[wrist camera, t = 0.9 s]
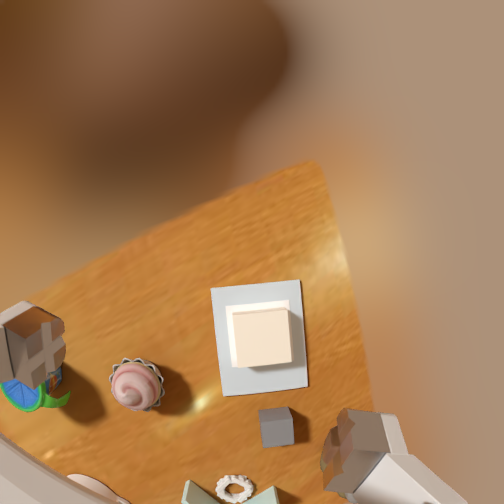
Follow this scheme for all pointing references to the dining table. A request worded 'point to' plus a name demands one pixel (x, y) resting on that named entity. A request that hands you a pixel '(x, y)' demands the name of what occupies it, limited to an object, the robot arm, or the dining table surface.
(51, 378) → the snack cup
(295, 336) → the light grey flat slab
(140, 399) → the cupcake
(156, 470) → the dining table surface
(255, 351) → the cream base block
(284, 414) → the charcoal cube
